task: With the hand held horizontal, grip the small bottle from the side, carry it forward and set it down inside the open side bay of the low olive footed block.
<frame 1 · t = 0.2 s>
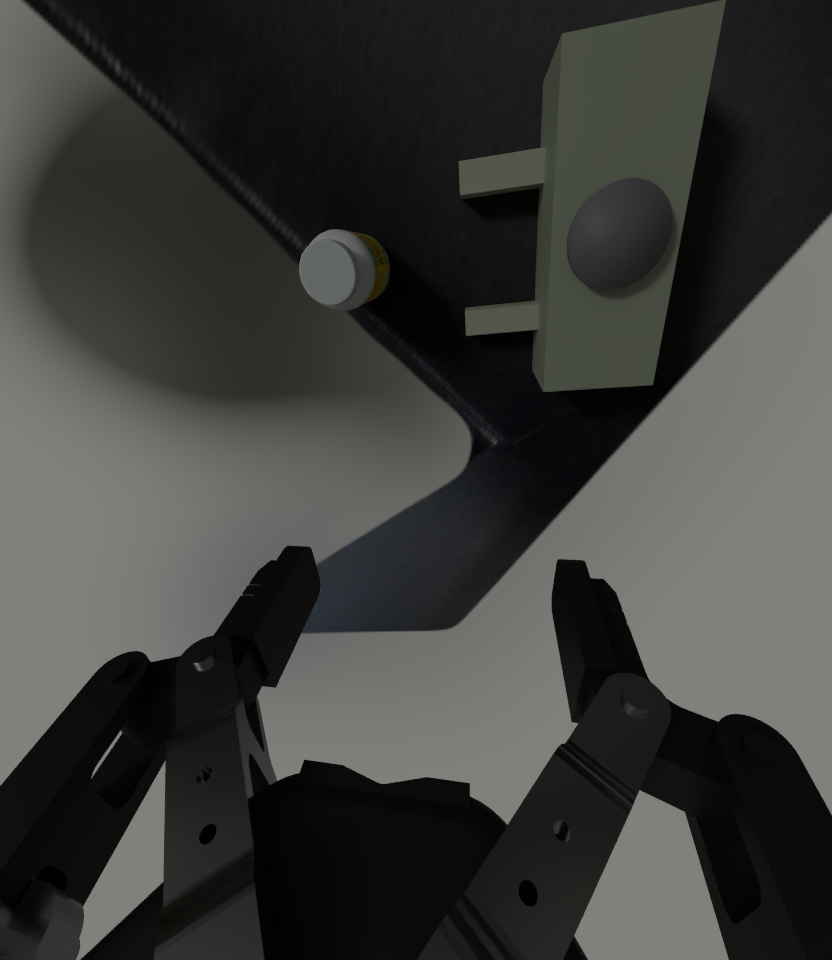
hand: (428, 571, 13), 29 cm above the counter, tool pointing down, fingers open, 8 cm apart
supplement bottle: (362, 269, 35), on the counter
olive footed block: (549, 246, 32), on the counter
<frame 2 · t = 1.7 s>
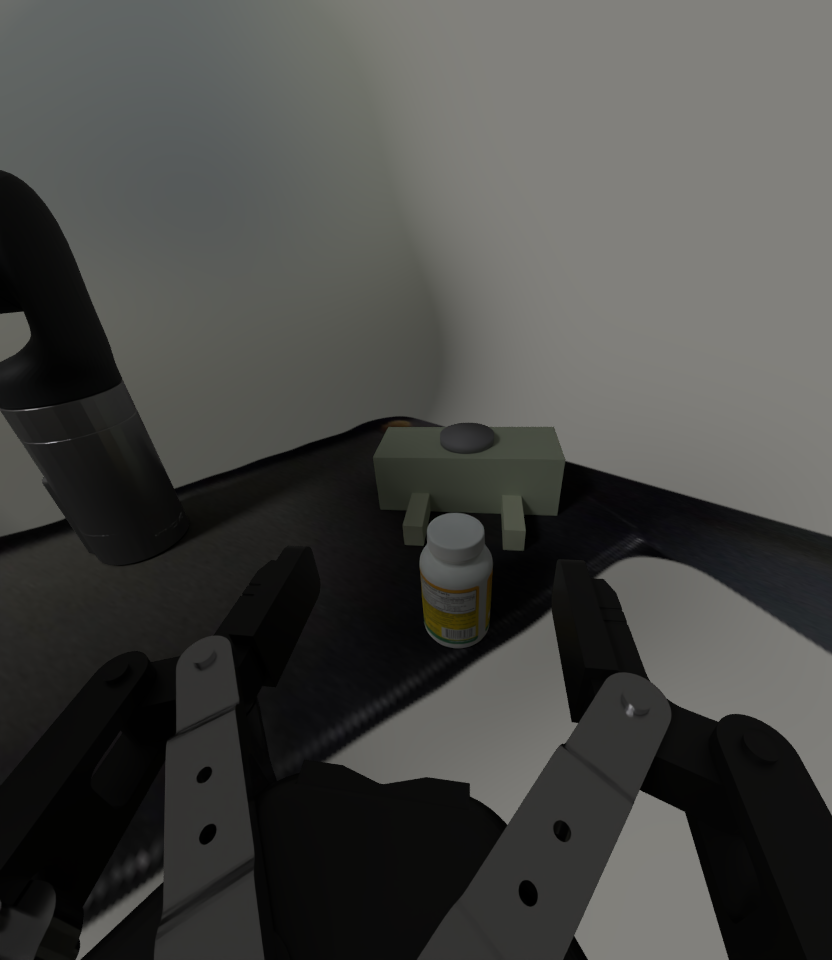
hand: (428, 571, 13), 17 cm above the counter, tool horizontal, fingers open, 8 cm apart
supplement bottle: (457, 623, 32), on the counter
olive footed block: (465, 507, 45), on the counter
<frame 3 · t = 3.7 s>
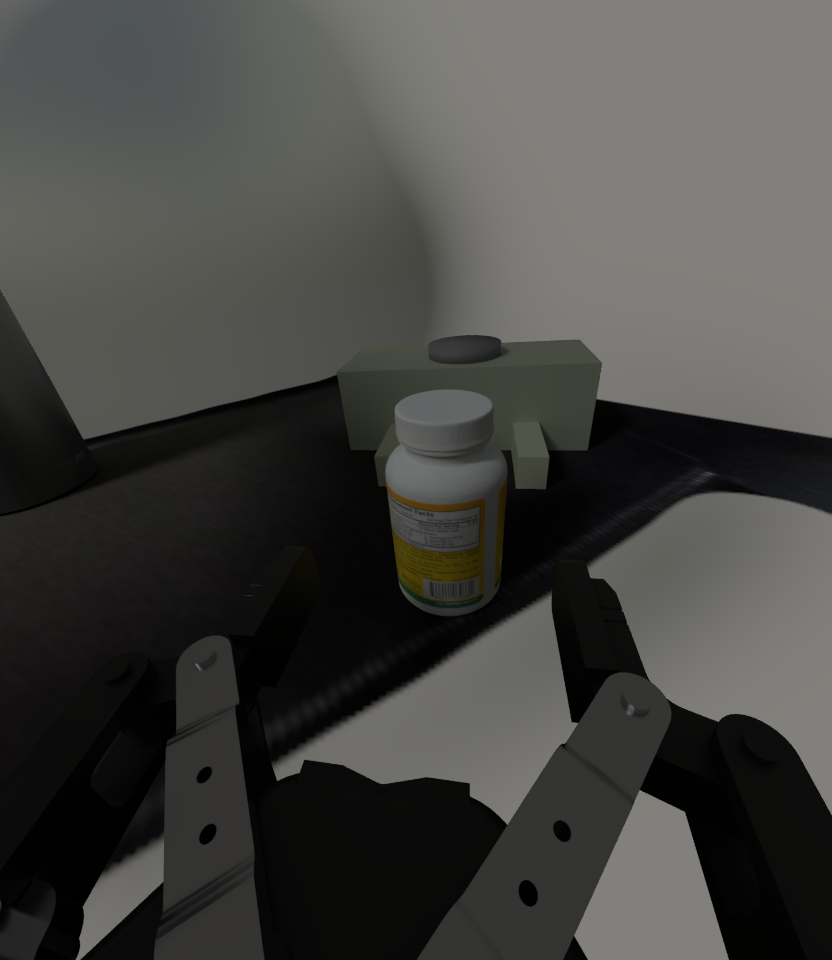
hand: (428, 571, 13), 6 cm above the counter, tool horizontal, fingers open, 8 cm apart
supplement bottle: (449, 581, 21), on the counter
olive footed block: (463, 445, 34), on the counter
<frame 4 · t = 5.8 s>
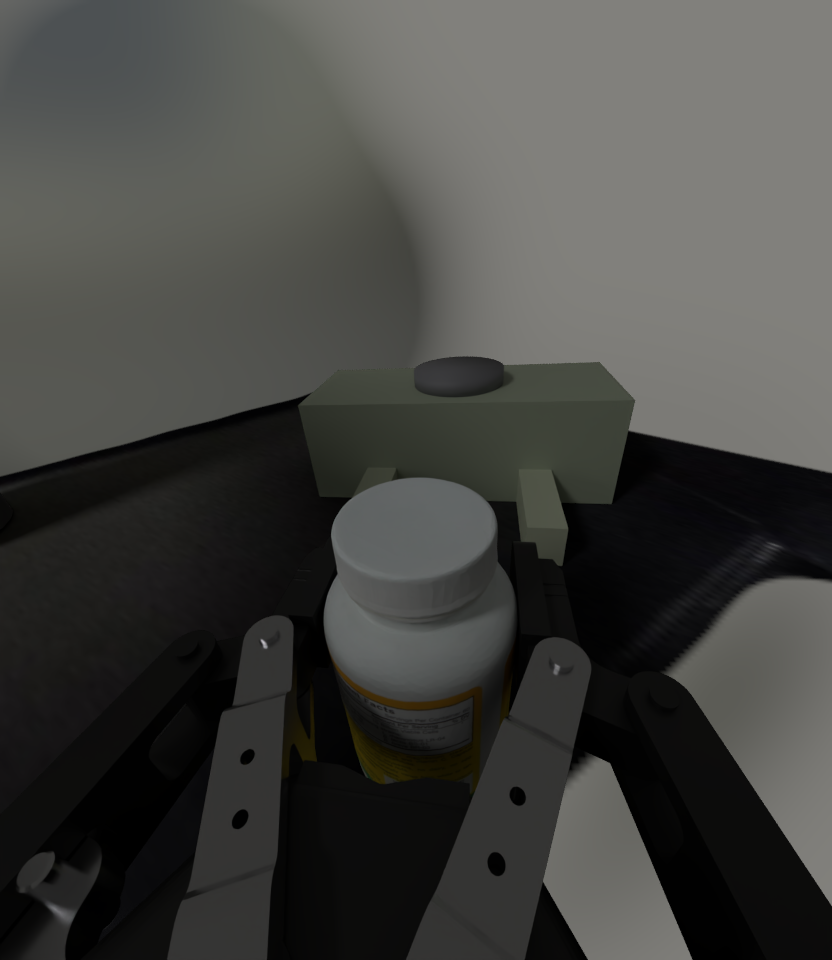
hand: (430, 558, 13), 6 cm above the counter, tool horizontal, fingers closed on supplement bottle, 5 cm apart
supplement bottle: (431, 732, 14), on the counter, touching gripper
olive footed block: (457, 492, 28), on the counter
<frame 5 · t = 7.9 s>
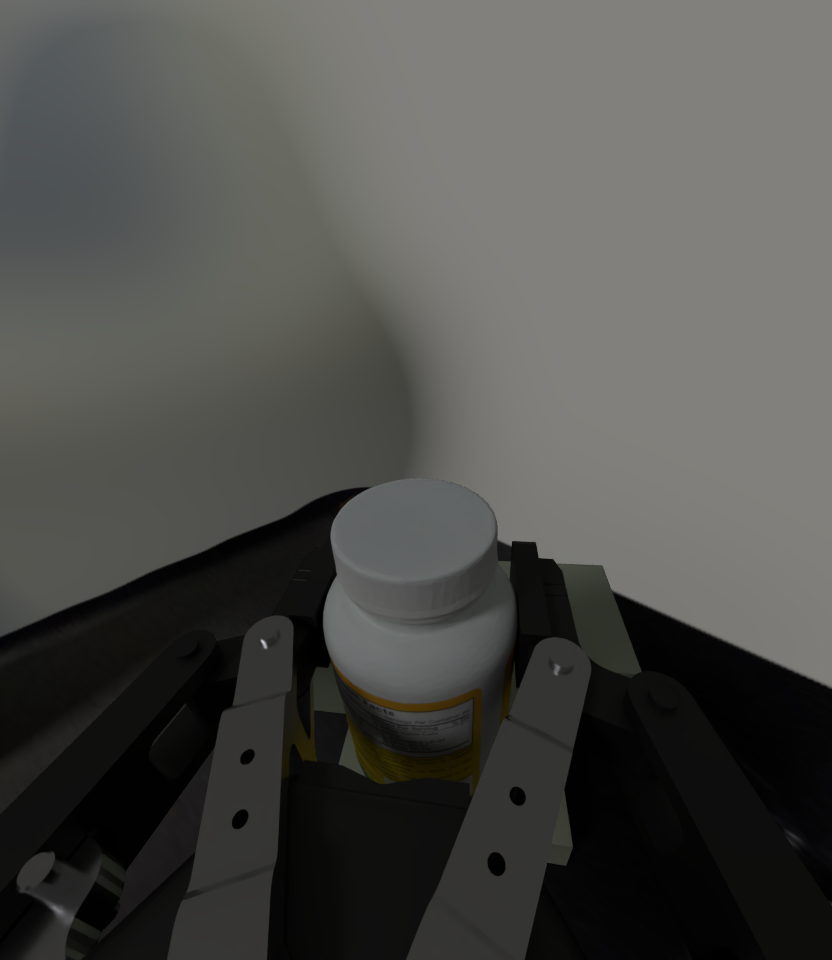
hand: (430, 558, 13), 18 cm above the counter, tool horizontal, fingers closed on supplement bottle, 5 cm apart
supplement bottle: (431, 733, 14), point 11 cm above the counter, touching gripper
olive footed block: (453, 709, 26), on the counter
when the fingers open (8 cm above the counter, at t = 10.5 s): supplement bottle drops 2 cm, on the counter.
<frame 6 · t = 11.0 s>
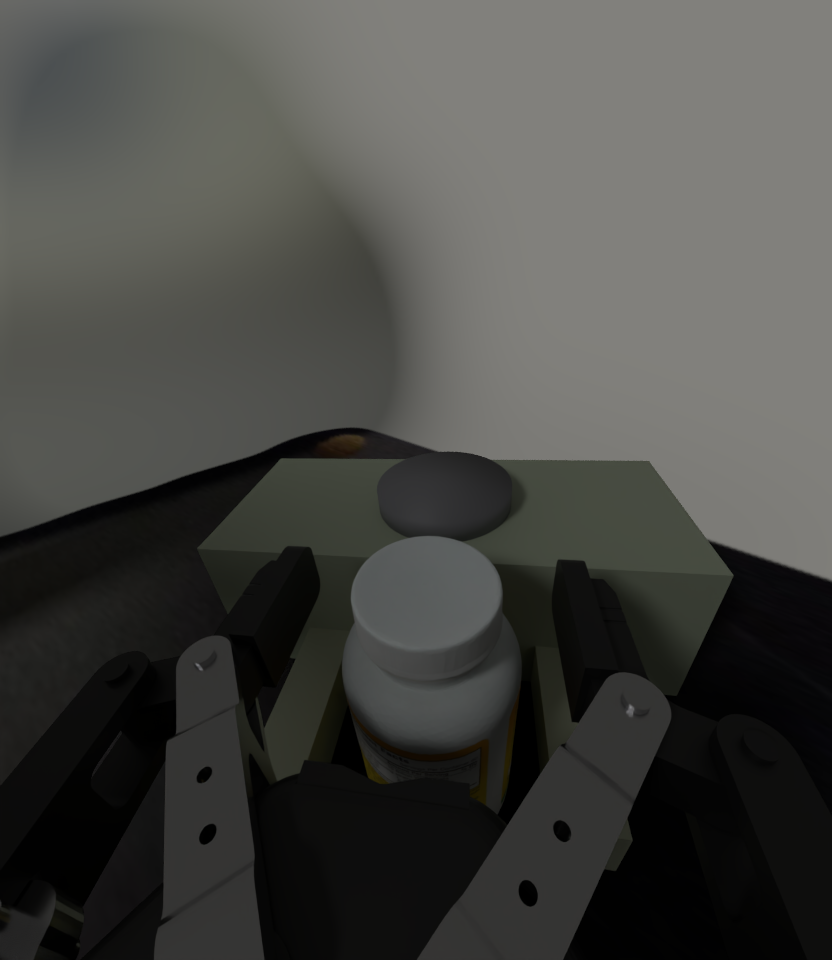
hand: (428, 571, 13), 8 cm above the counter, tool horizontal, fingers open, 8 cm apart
supplement bottle: (439, 763, 15), on the counter
olive footed block: (444, 653, 19), on the counter
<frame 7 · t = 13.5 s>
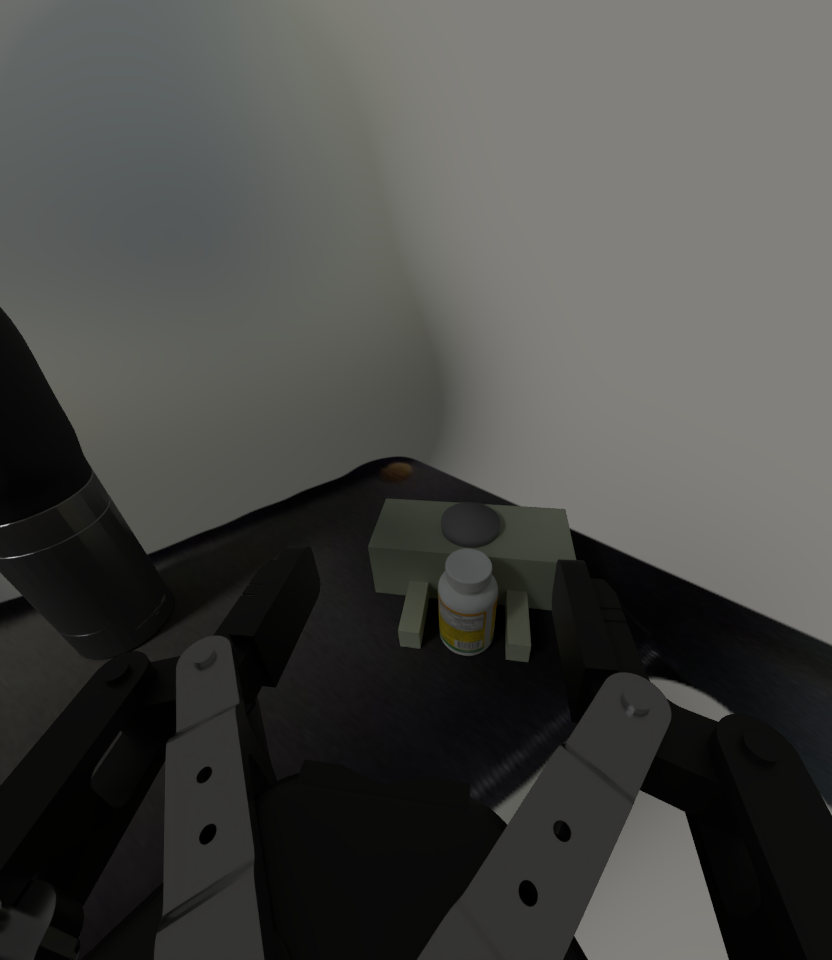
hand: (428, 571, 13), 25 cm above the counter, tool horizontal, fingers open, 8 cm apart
supplement bottle: (466, 633, 39), on the counter
olive footed block: (467, 594, 42), on the counter
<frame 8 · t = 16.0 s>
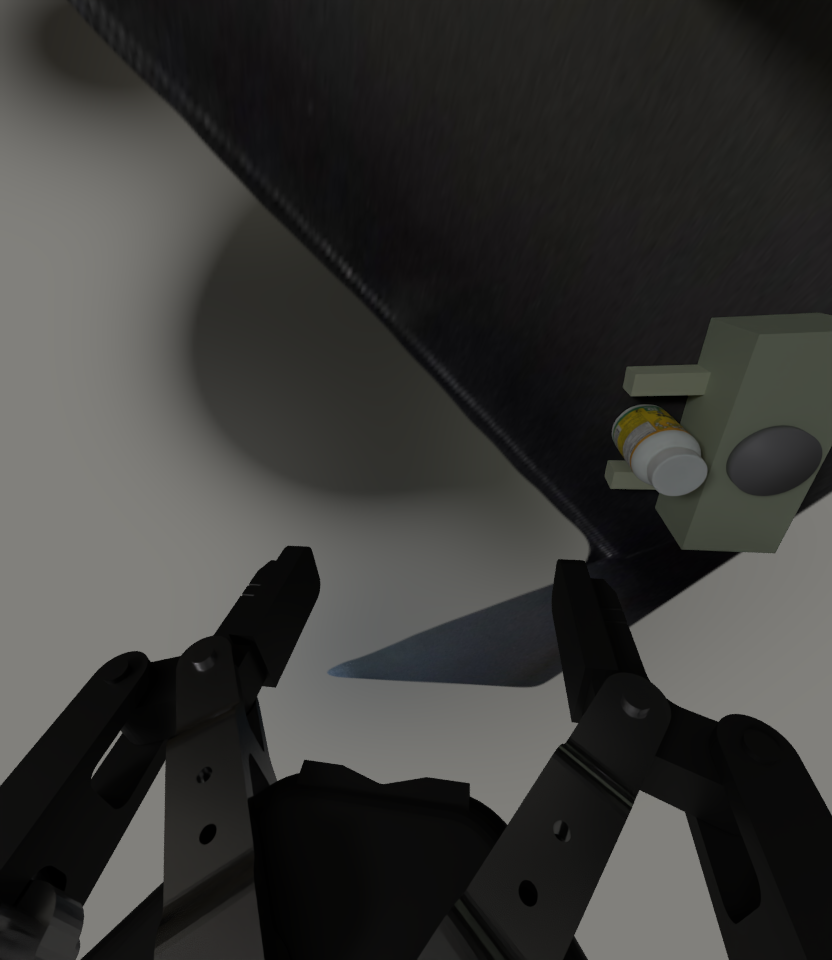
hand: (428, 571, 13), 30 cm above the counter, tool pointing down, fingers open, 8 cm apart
supplement bottle: (638, 426, 40), on the counter
olive footed block: (690, 425, 39), on the counter
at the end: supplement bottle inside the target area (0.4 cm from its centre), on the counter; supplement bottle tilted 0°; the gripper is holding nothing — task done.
